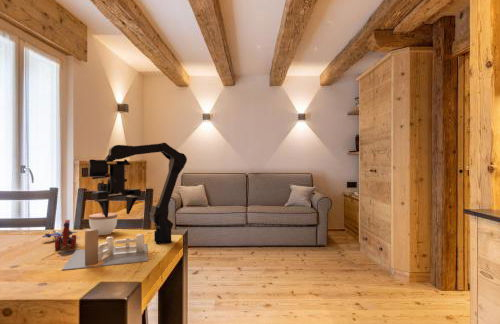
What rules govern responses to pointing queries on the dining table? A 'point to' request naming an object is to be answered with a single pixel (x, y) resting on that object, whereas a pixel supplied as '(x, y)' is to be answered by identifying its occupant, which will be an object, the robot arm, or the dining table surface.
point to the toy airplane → (57, 234)
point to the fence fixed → (138, 246)
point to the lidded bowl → (103, 222)
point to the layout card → (107, 258)
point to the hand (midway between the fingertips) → (117, 215)
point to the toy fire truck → (65, 237)
